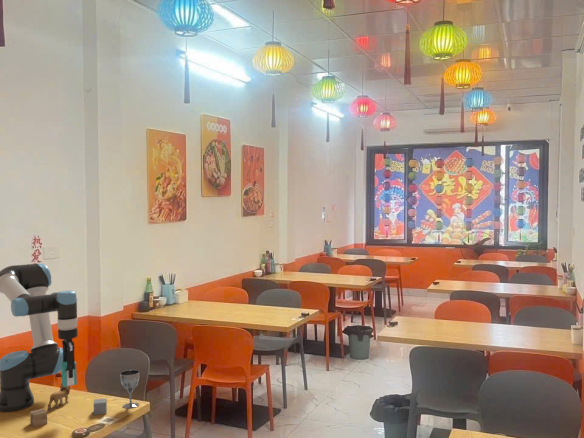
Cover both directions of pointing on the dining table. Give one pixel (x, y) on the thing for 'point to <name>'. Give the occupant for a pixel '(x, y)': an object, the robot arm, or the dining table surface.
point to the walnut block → (38, 417)
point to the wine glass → (130, 385)
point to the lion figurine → (59, 396)
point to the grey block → (100, 406)
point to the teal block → (64, 374)
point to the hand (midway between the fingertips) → (69, 383)
